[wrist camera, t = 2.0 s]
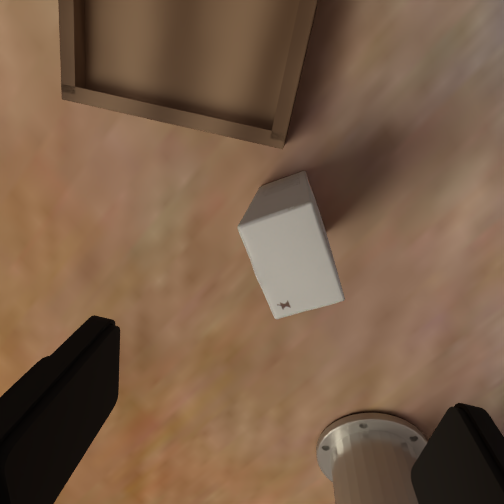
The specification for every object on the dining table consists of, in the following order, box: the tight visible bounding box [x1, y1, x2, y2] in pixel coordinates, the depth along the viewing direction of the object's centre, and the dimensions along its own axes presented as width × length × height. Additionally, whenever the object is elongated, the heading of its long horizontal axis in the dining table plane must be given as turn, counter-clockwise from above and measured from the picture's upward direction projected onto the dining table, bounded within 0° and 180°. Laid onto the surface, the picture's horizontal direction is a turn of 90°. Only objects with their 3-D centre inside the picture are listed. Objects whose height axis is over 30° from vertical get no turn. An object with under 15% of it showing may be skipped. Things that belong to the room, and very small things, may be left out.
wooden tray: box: [58, 0, 318, 149], centre depth 21 cm, size 16×14×4 cm
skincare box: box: [238, 171, 345, 319], centre depth 22 cm, size 6×4×12 cm
